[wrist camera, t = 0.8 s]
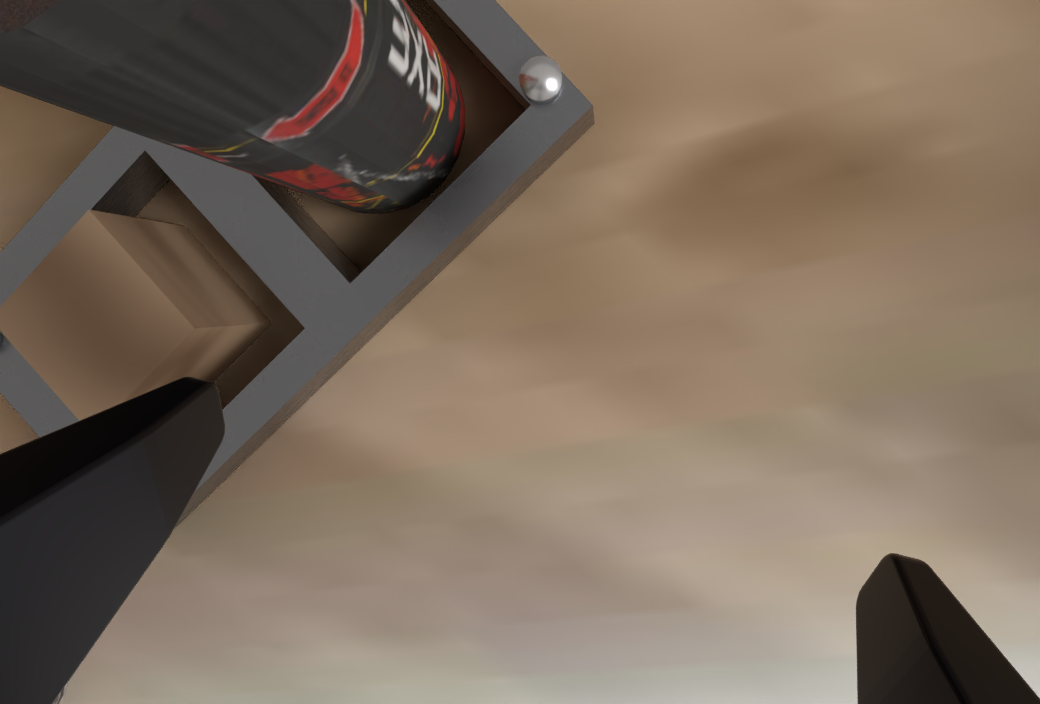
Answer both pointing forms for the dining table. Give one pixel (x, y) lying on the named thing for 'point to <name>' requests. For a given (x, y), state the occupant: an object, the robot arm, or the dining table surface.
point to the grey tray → (306, 236)
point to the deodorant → (255, 86)
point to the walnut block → (127, 312)
